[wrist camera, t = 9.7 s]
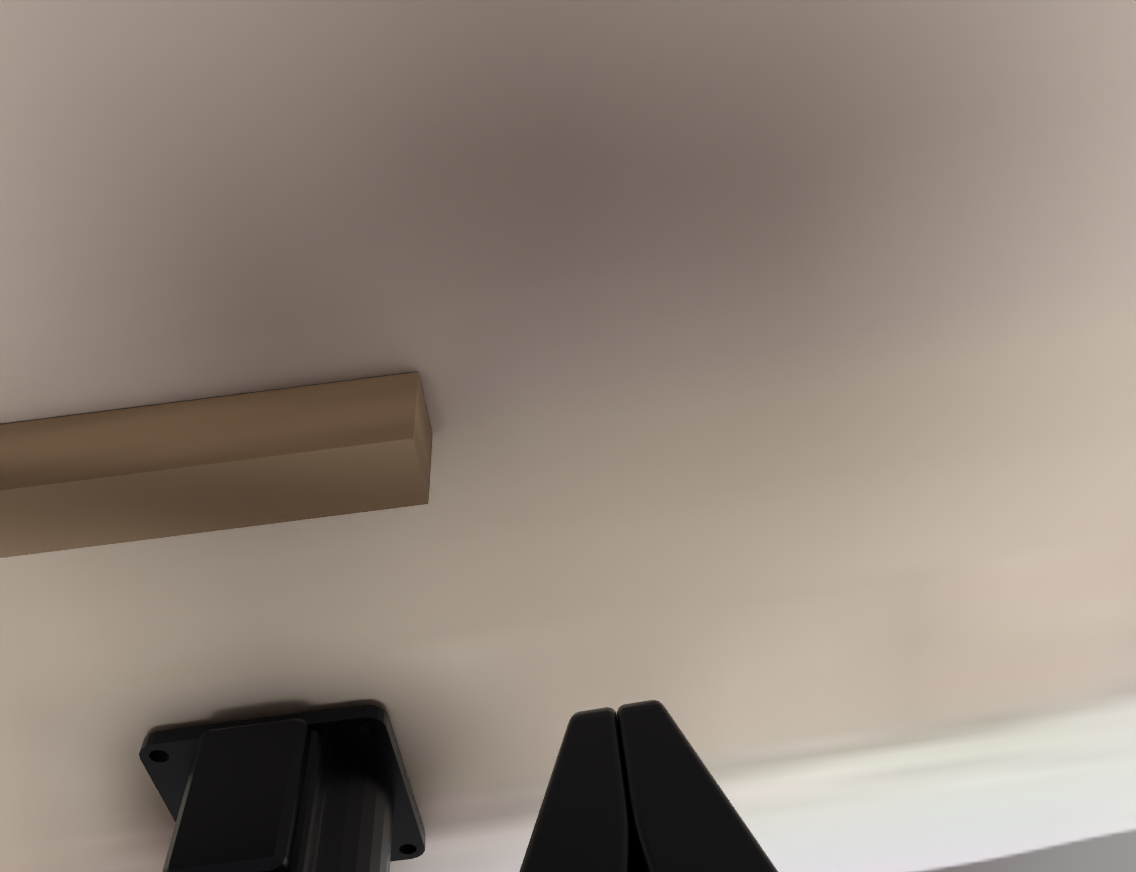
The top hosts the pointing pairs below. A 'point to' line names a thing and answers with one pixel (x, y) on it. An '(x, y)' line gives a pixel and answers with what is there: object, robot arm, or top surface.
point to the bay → (214, 464)
